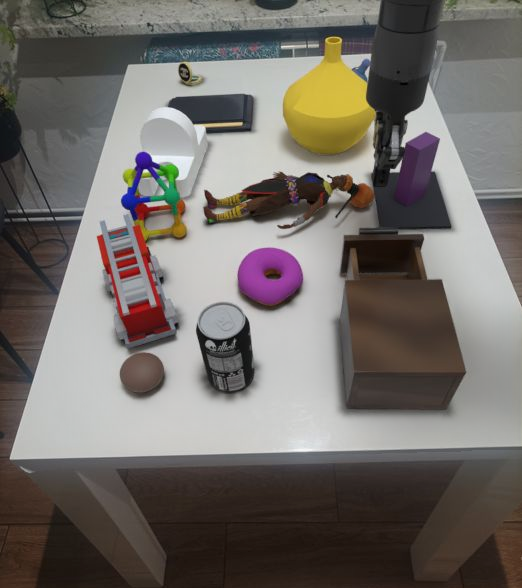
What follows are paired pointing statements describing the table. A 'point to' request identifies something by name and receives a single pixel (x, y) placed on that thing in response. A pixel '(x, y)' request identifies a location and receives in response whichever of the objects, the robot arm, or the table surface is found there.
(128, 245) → the toy fire truck
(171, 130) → the bracket
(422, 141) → the purple rectangular block
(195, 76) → the eyeshadow
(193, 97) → the wallet
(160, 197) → the model
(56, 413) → the table surface
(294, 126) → the vase
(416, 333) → the cabinet
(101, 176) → the table surface
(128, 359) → the egg
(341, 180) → the figurine
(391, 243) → the drawer
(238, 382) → the beverage can
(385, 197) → the mat
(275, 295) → the donut
